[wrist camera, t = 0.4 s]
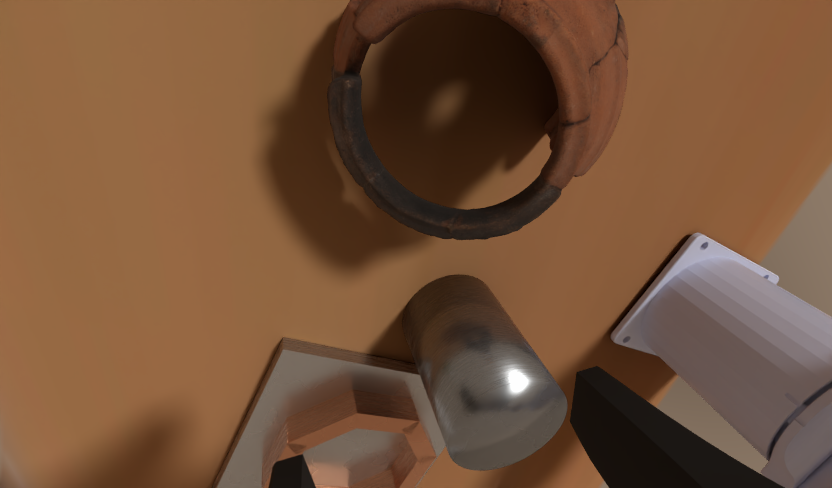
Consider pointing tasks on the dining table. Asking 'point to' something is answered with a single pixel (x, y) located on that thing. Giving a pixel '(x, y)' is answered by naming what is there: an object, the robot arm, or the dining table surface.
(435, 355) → the grey cylinder
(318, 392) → the flange plate
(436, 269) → the dining table surface
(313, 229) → the dining table surface
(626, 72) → the pottery mug
